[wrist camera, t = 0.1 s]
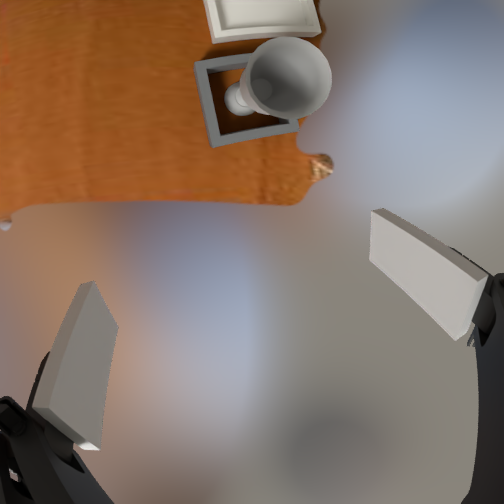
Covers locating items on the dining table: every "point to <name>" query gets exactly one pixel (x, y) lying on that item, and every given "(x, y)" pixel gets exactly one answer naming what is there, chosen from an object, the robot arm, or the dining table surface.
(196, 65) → the charcoal collar
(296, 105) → the chalice
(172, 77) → the dining table surface
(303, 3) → the off-white tray
